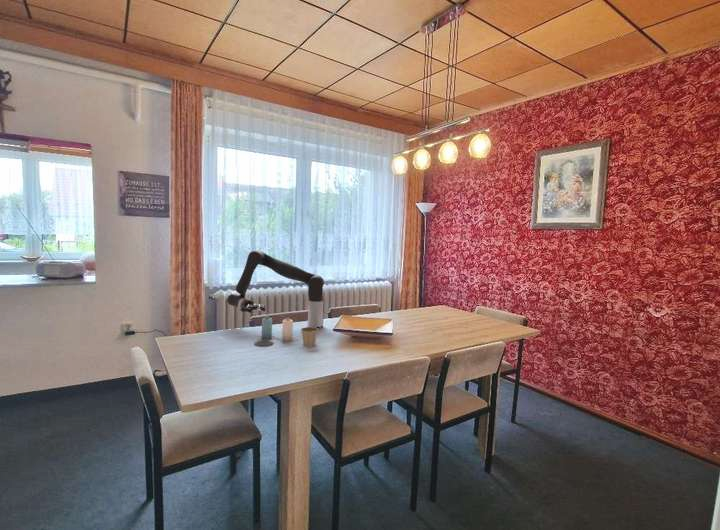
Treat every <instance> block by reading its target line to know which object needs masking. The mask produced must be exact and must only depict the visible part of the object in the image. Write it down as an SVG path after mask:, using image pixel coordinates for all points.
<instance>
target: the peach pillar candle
mask: <svg viewBox="0 0 720 530" xmlns="http://www.w3.org/2000/svg"><path fill="white" fill-rule="evenodd" d="M293 329H294V320H293V319H292V318H291V319H290V317H287V318H285V319H282V331H281V333H282V334H281V335H282V336H281V338H282V340H283V341H291V340H292V337H293V334H294V333H293Z"/></svg>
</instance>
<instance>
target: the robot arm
mask: <svg viewBox="0 0 720 530" xmlns="http://www.w3.org/2000/svg"><path fill="white" fill-rule="evenodd" d="M258 266H264V267H267V268H268V269H270V270H272V271H273V272H274V273H276V274H277V275H280V276H281V277H284V278H286V279H288V280H293V281H297V282H302V283H304V284H306V285H308V287H307V288H308V289H307V294H308V295H307V297H308V305H307V307H308V310H307V327H314V328H317V327H320V328H322V327H324V311H323V309H324V308H323V303H324V301H323V300H324V294H323V293H324V292H323V289H324V285H325V280H324V278H323V277H322V276H321V275H317V274H314V273H312V272H309V271H308V272H307V271H306V270H304V269H302V268H300V267H298V266H295V265H293V264H291V263H288V262H286V261H284V260H281V259H278V258H275V257H272V256H271V255H269V254H267V253H265V252H264V251H262V250H252V251H250V253H249V254H248V256H247V258H246V262H245V265H244V269H243V272H242V274H241V276H240V278H239V281H238V282H237V284H236V287H235V291H236V292H237V293H238V294H239V295H238V294H233V293H232V294H231V293H230V294H229V295H228V297H227V299H226V301H227V303H228V305H230V306H232V307H236V308H238V309H239V311H240V312H242V313H244V312H245V313H249V314H251V313H252V312H255V311H258V312H259V311H262V312H266V309H267V308H266V305H264V304H262V303H260V304H256V303H255V302H254V301H253V300H251V299H249V298H246V293H247V291H248V289H249V287H250V284H251V282H252V277H253V274H254V272H255V270H256V268H257V267H258ZM321 326H322V327H321ZM317 329H318V328H317Z"/></svg>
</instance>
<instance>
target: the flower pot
mask: <svg viewBox="0 0 720 530" xmlns="http://www.w3.org/2000/svg"><path fill="white" fill-rule="evenodd" d="M300 331H301V334H302V343H303V345H304V346H308V347H309V346H310V347H312V346H315V345H316V339H317V334H318V331H319V328H314V327H308V326H307V327H306V326H305V327H302V328H300Z"/></svg>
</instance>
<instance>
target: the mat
mask: <svg viewBox="0 0 720 530" xmlns="http://www.w3.org/2000/svg"><path fill="white" fill-rule="evenodd" d="M274 344H275V343H274V342H272V340H270V341H260V340H258V341H256V342H255V343H254V344H253V345H254V346H255V347H259V348H267V347H271V346H274Z"/></svg>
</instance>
